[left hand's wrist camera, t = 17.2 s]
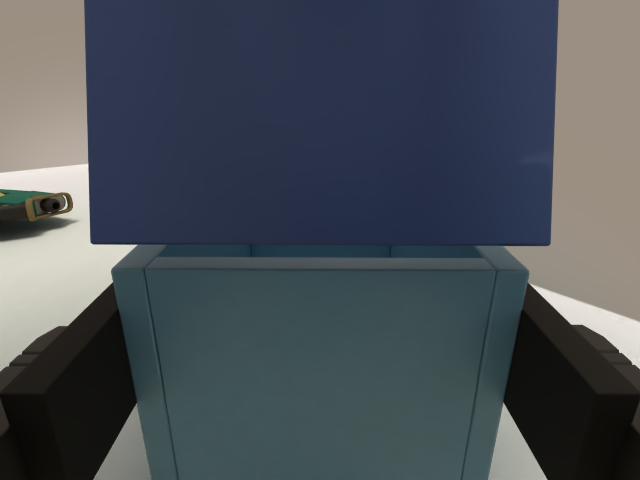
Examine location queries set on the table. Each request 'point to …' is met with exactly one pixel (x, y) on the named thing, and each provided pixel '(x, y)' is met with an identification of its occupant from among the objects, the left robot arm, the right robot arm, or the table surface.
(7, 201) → the spray gun
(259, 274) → the chest
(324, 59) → the lid
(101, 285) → the table surface
